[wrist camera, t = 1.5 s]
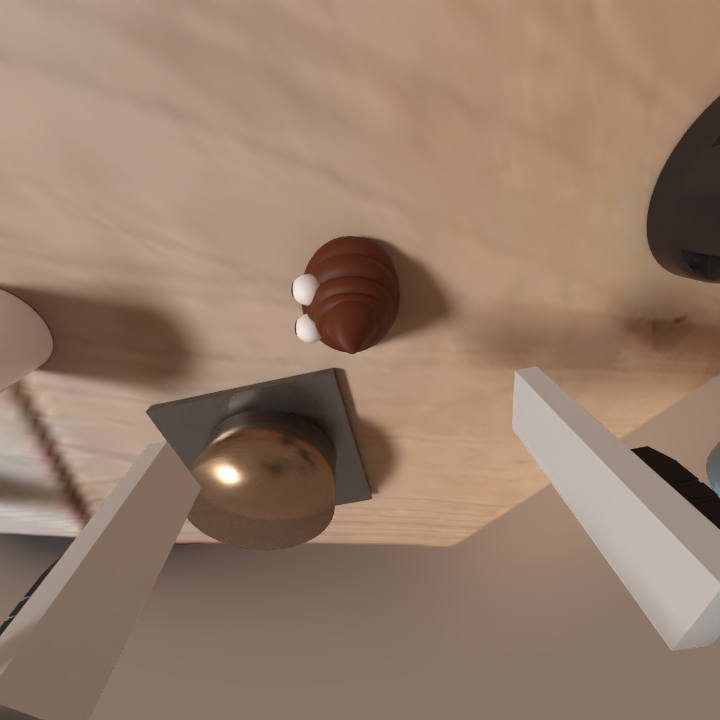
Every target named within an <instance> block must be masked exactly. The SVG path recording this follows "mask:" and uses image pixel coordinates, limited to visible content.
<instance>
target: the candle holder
mask: <svg viewBox="0 0 720 720" xmlns="http://www.w3.org/2000/svg"><path fill="white" fill-rule="evenodd" d="M52 351H53V340H52V336H51V333H50V331H49V329H48V327H47V325H46V324H45V322H44V321H43V319H42V318H41V317H40V316H39V315H38V314H37V313H36V312H35V311H34V310H33V309H32V308H31V307H30V306H29V305H27V304H26V303H25V302H23V301H22V300H20V299H19V298H17V297H16V296H14V295H12V294H10V293H8V292H6V291H4V290H1V289H0V393H1V392H2V391H4V390H5V389H7V388H8V387H10V386H11V385H13V384H14V383H16V382H17V381H19V380H21V379H22V378H24V377H25V376H27V375H28V374H30V373H31V372H33V371H34V370H36V369H37V368H38V367H40V366H41V365H43V364H44V363H45V362H46V361H47V360H48V359H49V358H50V356H51V354H52Z"/></svg>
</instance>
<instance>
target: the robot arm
mask: <svg viewBox="0 0 720 720" xmlns="http://www.w3.org/2000/svg"><path fill="white" fill-rule="evenodd" d="M647 238H648V243H649V247H650V250H651V252H652V254H653V256H654V258H655V259H656V260H657V262H658V263H659V264H660V265H661V266H662V267H663V268H664V269H666V270H667V271H669V272H671V273H673V274H676V275H678V276H682V277H686V278H690V279H695V280H699V281H703V282H709V283H720V96H719V97H718V98H717V99H716V100H715V101H714V102H713V103H712V104H711V105H710V106H709V107H708V108H707V109H706V110H705V111H704V112H703V113H702V114H701V115H700V116H699V117H698V118H697V120H696V121H695V122H694V123H693V124H692V125H691V127H690V128H689V129H688V130H687V132H686V133H685V134H684V136H683V137H682V138H681V140H680V141H679V143H678V144H677V146H676V147H675V149H674V150H673V152H672V153H671V155H670V157H669V158H668V160H667V162H666V164H665V166H664V168H663V169H662V171H661V174H660V176H659V178H658V180H657V183H656V185H655V188H654V191H653V194H652V197H651V201H650V205H649V210H648V216H647ZM512 429H513V430H514V432H515V433H516V434H517V436H518V437H519V439H520V440H521V441H522V443H523V444H524V446H525V447H526V448H527V450H528V451H529V452H530V454H531V455H532V457H533V458H534V459H535V461H536V462H537V464H538V465H539V466H540V468H541V469H542V471H543V472H544V473H545V475H546V476H547V478H548V479H549V480H550V482H551V483H552V485H553V486H554V487H555V489H556V490H557V491H558V493H559V494H560V496H561V497H562V499H563V500H564V501H565V503H566V504H567V505H568V507H569V508H570V510H571V511H572V512H573V514H574V515H575V517H576V518H577V519H578V521H579V522H580V523H581V525H582V526H583V528H584V529H585V531H586V532H587V533H588V535H589V536H590V537H591V539H592V540H593V542H594V543H595V545H596V546H597V547H598V549H599V550H600V552H601V553H602V554H603V556H604V557H605V558H606V560H607V561H608V563H609V564H610V565H611V567H612V568H613V570H614V571H615V572H616V574H617V575H618V577H619V578H620V579H621V581H622V582H623V584H624V585H625V586H626V588H627V589H628V591H629V592H630V593H631V595H632V596H633V597H634V599H635V600H636V602H637V603H638V605H639V606H640V607H641V609H642V610H643V611H644V613H645V614H646V616H647V617H648V618H649V620H650V621H651V622H652V624H653V625H654V627H655V628H656V630H657V631H658V632H659V634H660V635H661V637H662V638H663V639H664V641H665V642H666V644H667V645H668V646H669V648H670V649H671V650H672V651H673V650H681V649H688V648H695V647H702V646H709V645H712V643H714V641H715V640H716V639H717V638H718V637H719V636H720V442H719V443H718V444H717V445H716V447H715V448H714V449H713V450H712V451H711V452H710V454H709V456H708V459H707V463H706V472H707V476H708V479H709V483H710V485H711V487H712V489H713V490H712V489H710V488H709V487H708V486H707V485H705V484H704V483H703V482H702V483H700V482H699V481H698V478H697V477H695V476H694V475H693V474H692V473H691V472H689V471H688V470H687V469H686V468H684V467H683V466H682V465H681V464H679V463H678V462H677V461H676V460H674V459H672V458H670V457H668V456H666V455H664V454H662V453H660V452H658V451H656V450H654V449H652V448H650V447H648V446H646V447H641V448H635V449H629V448H628V447H627V446H625V445H624V444H623V443H622V442H621V441H620V440H619V439H618V438H617V437H615V436H614V435H613V434H612V433H611V432H610V431H609V430H608V429H607V428H605V427H604V426H603V425H602V424H601V423H600V422H599V421H598V420H596V419H595V418H594V417H593V416H592V415H591V414H590V413H589V412H588V411H586V410H585V409H584V408H583V407H582V406H581V405H580V404H579V403H577V402H576V401H575V400H574V399H573V398H572V397H571V396H570V395H569V394H567V393H566V392H565V391H564V390H563V389H562V388H561V387H560V386H558V385H557V384H556V383H555V382H554V381H553V380H552V379H551V378H550V377H548V376H547V375H546V374H545V373H544V372H543V371H542V370H541V369H540V368H538V367H537V366H535V367H530V368H525V369H520V370H515V379H514V398H513V418H512ZM200 489H201V486H200V485H199V484H198V482H197V481H196V480H195V478H194V477H193V475H192V474H191V473H190V471H189V470H188V469H187V467H186V466H185V465H184V463H183V462H182V460H181V459H180V458H179V456H178V455H177V454H176V452H175V451H174V450H173V448H172V447H171V445H170V444H169V443H168V441H165V442H160V443H155V444H150V445H148V446H147V447H146V449H145V450H144V451H143V453H142V454H141V455H140V456H139V458H138V459H137V460H136V462H135V463H134V464H133V465H132V467H131V468H130V469H129V471H128V472H127V473H126V475H125V476H124V477H123V478H122V480H121V481H120V482H119V484H118V485H117V486H116V487H115V489H114V490H113V491H112V493H111V494H110V495H109V496H108V498H107V499H106V500H105V502H104V503H103V504H102V505H101V507H100V508H99V509H98V511H97V512H96V513H95V515H94V516H93V517H92V518H91V520H90V521H89V522H88V524H87V525H86V526H85V527H84V529H83V530H82V531H81V533H80V534H79V535H78V536H77V538H76V539H75V540H74V542H73V543H72V544H71V545H70V547H69V548H68V549H67V551H66V552H65V553H64V554H63V555H62V556H61V557H60V558H59V559H58V560H57V561H55V562H54V563H53V564H52V565H51V566H50V567H49V568H48V569H47V570H46V571H45V572H44V573H43V574H42V575H41V576H40V577H39V579H38V580H37V581H36V583H35V584H34V585H33V586H32V588H31V589H30V590H29V591H28V593H27V594H26V595H25V599H24V600H23V601H21V602H20V603H19V604H18V605H17V607H16V608H15V609H14V610H13V612H12V613H11V614H10V615H9V620H8V621H5V622H4V623H3V625H2V626H1V627H0V720H89V718H90V716H91V714H92V712H93V710H94V708H95V706H96V704H97V702H98V700H99V698H100V696H101V694H102V692H103V689H104V687H105V685H106V683H107V681H108V679H109V677H110V675H111V673H112V671H113V669H114V667H115V665H116V663H117V660H118V658H119V656H120V654H121V652H122V650H123V648H124V646H125V644H126V642H127V640H128V638H129V635H130V634H131V632H132V630H133V627H134V625H135V623H136V621H137V619H138V617H139V615H140V613H141V611H142V609H143V607H144V605H145V603H146V601H147V598H148V596H149V594H150V592H151V590H152V588H153V586H154V584H155V582H156V580H157V578H158V575H159V574H160V572H161V569H162V567H163V565H164V563H165V561H166V559H167V557H168V555H169V553H170V551H171V549H172V547H173V545H174V543H175V541H176V539H177V536H178V534H179V532H180V530H181V528H182V526H183V524H184V522H185V520H186V518H187V516H188V514H189V512H190V510H191V508H192V505H193V503H194V501H195V499H196V497H197V495H198V493H199V491H200Z"/></svg>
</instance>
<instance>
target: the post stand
mask: <svg viewBox="0 0 720 720" xmlns="http://www.w3.org/2000/svg"><path fill="white" fill-rule="evenodd" d="M146 413H147V414H148V416H149V417H150V418H151V420H152V421H153V422H154V424H155V425H156V427H157V428H158V429H159V431H160V432H161V433H162V435H163V436H164V438H165V439H166V440H167V441H168V443H169V444H170V445H171V447H172V448H173V450H174V451H175V452H176V454H177V455H178V456H179V458H180V459H181V460H182V462H183V463H184V465H185V466H186V467H187V469H188V470H189V471H190V473H191V474H192V475H193V477H194V478H195V480H196V481H197V482H198V484H199V485H200V486H201V489H200V491H199V493H198V495H197V497H196V499H195V501H194V503H193V505H192V508H191V510H190V512H189V514H188V516H187V518H188V520H189V521H190V522H191V523H192V524H193V525H194V526H195V527H196V528H198V529H199V530H200V531H201V532H203V533H205V534H206V535H208V536H210V537H212V538H213V539H216V540H218V541H220V542H223V543H226V544H229V545H232V546H236V547H240V548H246V549H256V550H275V549H283V548H288V547H293V546H296V545H299V544H302V543H305V542H307V541H309V540H311V539H313V538H315V537H316V536H318V535H319V534H320V533H321V532H323V531H324V530H325V529H326V527H327V526H328V525H329V523H330V522H331V520H332V518H333V515H334V509H335V505H341V504H347V503H353V502H358V501H364V500H370V499H372V494H371V490H370V486H369V483H368V480H367V476H366V473H365V470H364V466H363V463H362V460H361V456H360V453H359V450H358V447H357V443H356V440H355V437H354V433H353V430H352V427H351V423H350V420H349V417H348V413H347V410H346V407H345V403H344V400H343V397H342V393H341V390H340V387H339V383H338V380H337V377H336V374H335V370H334V368H331V369H326V370H321V371H316V372H311V373H307V374H302V375H297V376H292V377H287V378H282V379H278V380H273V381H268V382H263V383H258V384H254V385H249V386H244V387H239V388H234V389H229V390H225V391H220V392H215V393H210V394H205V395H200V396H196V397H191V398H186V399H181V400H176V401H171V402H167V403H162V404H157V405H152V406H150V408H149V409H148V410H147V411H146Z"/></svg>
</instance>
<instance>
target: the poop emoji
mask: <svg viewBox="0 0 720 720" xmlns="http://www.w3.org/2000/svg"><path fill="white" fill-rule="evenodd" d="M292 296H293V297H294V298H295V299H296V300H297V301H298V302H299V303H301V304H302V310H303V314H304V315H302V316H301V317H300V318H299V319H298V320H297V321H296V323H295V333H296V335H297V336H298V337H299V338H300V339H301V340H303V341H305V342H309V343H312V342H316V341H318V340H320V341H322V342H323V343H324V344H326V345H327V346H329V347H331V348H333V349H335V350H338V351H342V352H348V353H350V354H355V353H357V352H360V351H363V350H366V349H368V348H370V347H372V346H373V345H375V344H376V343H378V342H379V341H380V340H381V339H382V338H383V337H384V336H385V335H386V334H387V333H388V331H389V330H390V328H391V327H392V325H393V323H394V321H395V319H396V316H397V313H398V308H399V296H400V294H399V283H398V278H397V275H396V272H395V269H394V267H393V264H392V263H391V261H390V259H389V258H388V256H387V255H386V254H385V252H384V251H383V250H382V249H381V248H380V247H378V246H377V245H376V244H374V243H373V242H371V241H369V240H367V239H364V238H361V237H355V236H345V237H340V238H336V239H333V240H331V241H329V242H327V243H326V244H324V245H323V246H322V247H321V248H320V249H318V251H317V252H316V253H315V254H314V255H313V257H312V258H311V260H310V261H309V263H308V265H307V267H306V270H305V273H304V275H301V276H299V277H298V278H297V279H296V280H295V281H294V282H293V283H292Z"/></svg>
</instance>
